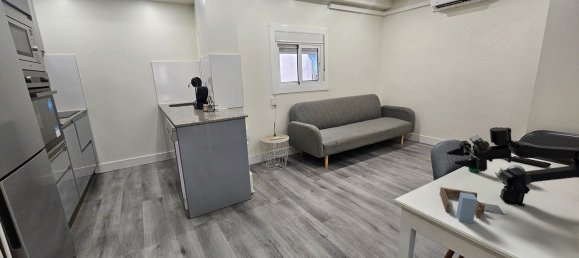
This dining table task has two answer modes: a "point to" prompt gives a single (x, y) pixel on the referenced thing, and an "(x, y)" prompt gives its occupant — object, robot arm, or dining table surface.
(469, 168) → the soda can
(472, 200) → the slate block
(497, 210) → the grey mat
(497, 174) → the chubby cartoon animal
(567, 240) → the dining table surface
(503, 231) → the dining table surface
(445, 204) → the brown angular open frame
